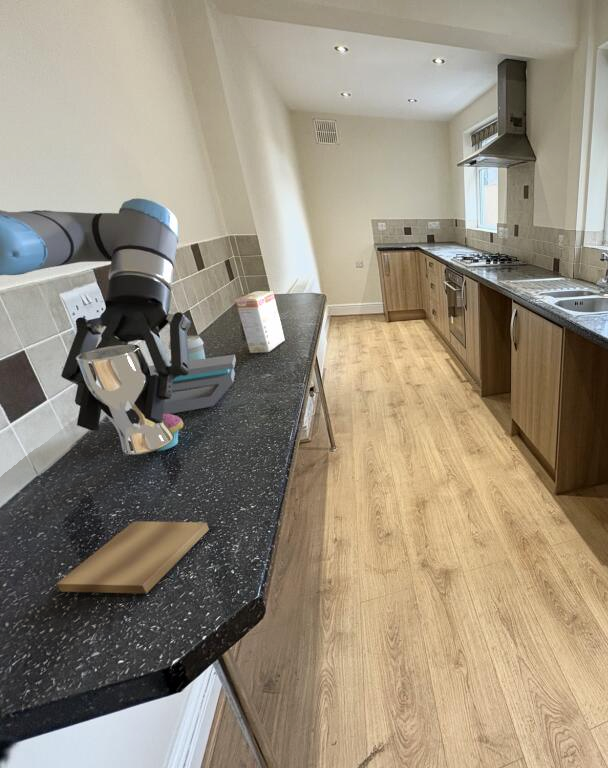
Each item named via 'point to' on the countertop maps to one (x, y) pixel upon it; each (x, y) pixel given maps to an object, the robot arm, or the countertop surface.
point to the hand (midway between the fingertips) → (121, 423)
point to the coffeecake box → (260, 321)
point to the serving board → (134, 558)
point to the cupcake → (172, 429)
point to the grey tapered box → (200, 384)
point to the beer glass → (124, 395)
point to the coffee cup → (194, 348)
